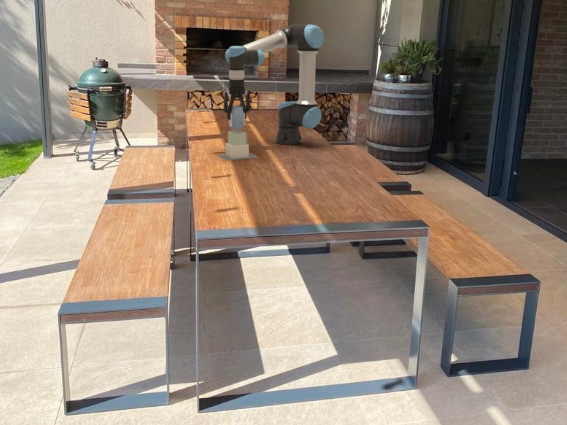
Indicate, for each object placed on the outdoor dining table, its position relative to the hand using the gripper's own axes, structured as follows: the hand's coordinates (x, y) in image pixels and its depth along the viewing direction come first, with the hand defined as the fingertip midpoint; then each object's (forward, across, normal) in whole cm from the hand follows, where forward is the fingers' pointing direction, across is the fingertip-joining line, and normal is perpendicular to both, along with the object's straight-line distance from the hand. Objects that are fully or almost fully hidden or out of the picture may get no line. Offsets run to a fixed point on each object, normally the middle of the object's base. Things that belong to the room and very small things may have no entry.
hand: (236, 125), depth 321 cm
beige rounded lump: (+17, -10, -19) cm, 27 cm away
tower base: (+15, 0, 0) cm, 15 cm away
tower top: (+9, 0, 0) cm, 9 cm away
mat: (+16, 0, 0) cm, 16 cm away
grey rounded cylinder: (+1, 0, 0) cm, 1 cm away
